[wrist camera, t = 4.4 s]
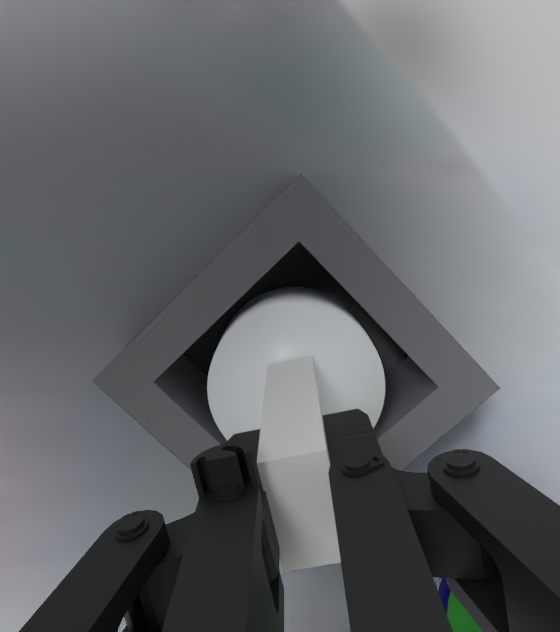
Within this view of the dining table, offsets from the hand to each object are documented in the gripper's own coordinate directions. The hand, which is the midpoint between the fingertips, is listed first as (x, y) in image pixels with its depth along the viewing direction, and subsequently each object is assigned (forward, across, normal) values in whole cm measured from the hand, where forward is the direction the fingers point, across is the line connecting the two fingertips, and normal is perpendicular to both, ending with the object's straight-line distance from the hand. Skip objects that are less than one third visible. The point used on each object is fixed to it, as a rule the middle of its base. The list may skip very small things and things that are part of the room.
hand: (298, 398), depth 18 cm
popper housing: (+5, 0, 0) cm, 5 cm away
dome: (+3, 0, 0) cm, 3 cm away
